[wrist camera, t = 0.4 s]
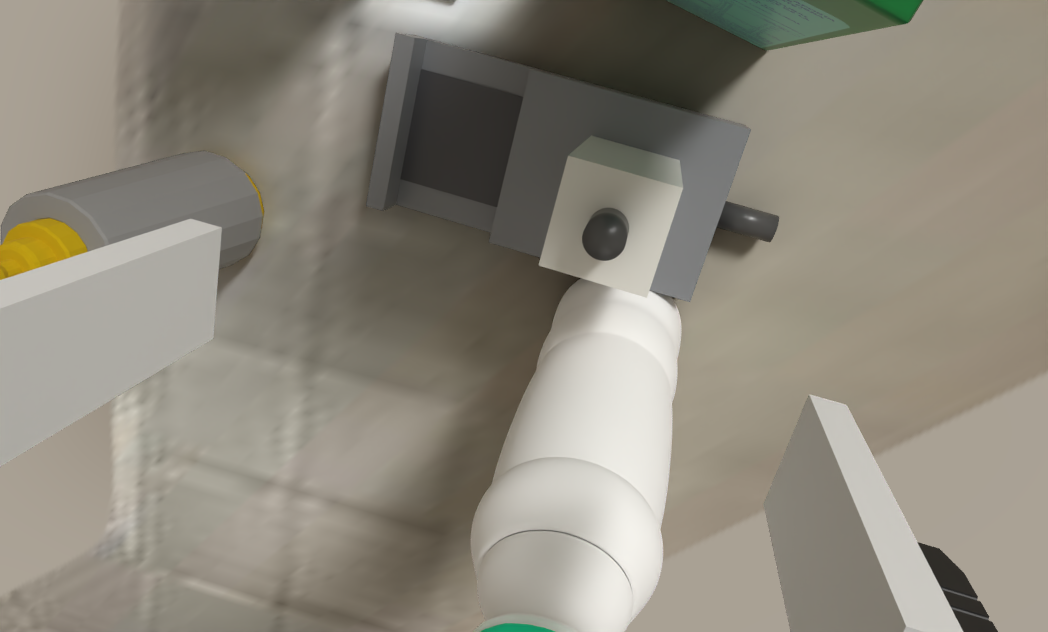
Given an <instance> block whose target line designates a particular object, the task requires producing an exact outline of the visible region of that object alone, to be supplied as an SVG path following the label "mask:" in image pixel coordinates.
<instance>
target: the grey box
mask: <svg viewBox="0 0 1048 632" xmlns="http://www.w3.org/2000/svg"><path fill="white" fill-rule="evenodd" d="M750 131H751V129H750V128H748V127H747V126H745V125H743V124H739V123H735V122H732V121H728V120H724V119H721V118H717V117H713V116H710V115H706V114H702V113H699V112H695V111H691V110H688V109H684V108H680V107H677V106H673V105H669V104H666V103H662V102H658V101H655V100H651V99H647V98H644V97H640V96H636V95H633V94H629V93H625V92H622V91H618V90H614V89H611V88H607V87H603V86H600V85H596V84H592V83H589V82H585V81H581V80H578V79H574V78H570V77H567V76H563V75H559V74H556V73H552V72H548V71H545V70H541V69H537V68H534V67H530V66H526V65H523V64H519V63H515V62H512V61H508V60H504V59H501V58H497V57H493V56H490V55H486V54H482V53H479V52H475V51H471V50H468V49H464V48H460V47H457V46H453V45H449V44H446V43H442V42H438V41H435V40H431V39H427V38H424V37H420V36H416V35H410V34H402V33H396V35H395V41H394V47H393V52H392V58H391V64H390V70H389V75H388V81H387V87H386V93H385V98H384V104H383V110H382V116H381V122H380V127H379V133H378V139H377V145H376V150H375V156H374V162H373V168H372V173H371V179H370V185H369V191H368V197H367V202H366V206H368V207H371V208H375V209H378V210H381V211H384V210H386V209H388V208H390V207H392V206H394V205H399V206H402V207H406V208H409V209H412V210H416V211H419V212H423V213H426V214H429V215H433V216H436V217H439V218H443V219H446V220H450V221H453V222H456V223H460V224H463V225H467V226H470V227H473V228H477V229H480V230H483V231H487V232H490V233H491V235H490V239H489V243H492V244H496V245H499V246H503V247H506V248H509V249H513V250H516V251H519V252H523V253H526V254H529V255H533V256H536V257H540V262H539V265H538V266H542V267H545V268H549V269H552V270H555V271H559V272H562V273H565V274H569V275H572V276H575V277H579V278H582V279H585V280H589V281H592V282H595V283H599V284H602V285H606V286H609V287H612V288H616V289H619V290H622V291H626V292H629V293H632V294H636V295H639V296H642V297H646V298H647V296H648V293H649V290H651V291H654V292H657V293H661V294H664V295H668V296H671V297H674V298H678V299H681V300H684V301H688V302H690V300H691V298H692V295H693V292H694V289H695V286H696V284H697V281H698V278H699V275H700V272H701V269H702V267H703V264H704V261H705V258H706V255H707V253H708V250H709V247H710V244H711V241H712V238H713V236H714V233H715V230H716V227H718V228H721V229H725V230H728V231H732V232H735V233H739V234H742V235H746V236H749V237H753V238H756V239H760V240H763V241H767V242H771V240H772V239H773V237H774V235H775V232H776V229H777V226H778V222H779V216H776V215H773V214H769V213H766V212H762V211H759V210H755V209H752V208H748V207H745V206H741V205H738V204H734V203H731V202H727V201H726V199H727V196H728V193H729V190H730V188H731V185H732V182H733V179H734V176H735V174H736V171H737V168H738V165H739V162H740V159H741V157H742V154H743V151H744V148H745V145H746V142H747V140H748V137H749V134H750Z"/></svg>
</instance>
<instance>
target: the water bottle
mask: <svg viewBox="0 0 1048 632" xmlns="http://www.w3.org/2000/svg"><path fill="white" fill-rule="evenodd" d="M680 342H681V319H680V315H679V311H678V309H677V306H676V304H675V302H674V300H673V299H672V297H671V296H668V295H664V294H661V293H657V292H654V291H651V290H649V293H648V296H647V298H646V297H642V296H639V295H636V294H632V293H629V292H626V291H622V290H619V289H616V288H612V287H609V286H606V285H602V284H599V283H595V282H592V281H589V280H585V279H582V278H581V279H579V280H578V281H576V282H575V283H574V284H573V285H572V286H571V287H570V288H569V289H568V290H567V291H566V293H565V294H564V296H563V297H562V299H561V301H560V303H559V305H558V308H557V310H556V313H555V316H554V319H553V323H552V327H551V331H550V332H549V334H548V336H547V338H546V339H545V342H544V344H543V346H542V349H541V352H540V355H539V358H538V362H537V369H536V372H535V373H534V375H533V377H532V379H531V381H530V383H529V385H528V387H527V389H526V391H525V393H524V395H523V397H522V400H521V402H520V404H519V406H518V409H517V411H516V414H515V416H514V418H513V421H512V424H511V426H510V429H509V431H508V434H507V436H506V439H505V442H504V445H503V448H502V450H501V453H500V457H499V460H498V463H497V466H496V470H495V473H494V477H493V481H492V485H491V486H490V487H489V488H488V489H487V491H486V492H485V494H484V495H483V497H482V499H481V501H480V503H479V505H478V507H477V510H476V512H475V515H474V519H473V523H472V529H471V553H472V559H473V564H474V569H475V574H476V578H477V592H478V600H479V604H480V607H481V610H482V613H483V616H484V619H485V621H484V622H483V623H481V624H480V625H479V626H478V627H477V628H476V629H475V630H474V631H473V632H625V631H626V629H627V626H628V625H629V624H630V623H631V621H632V620H633V619H634V618H635V617H636V616H637V614H638V613H639V612H640V611H641V610H642V609H643V607H644V606H645V605H646V603H647V602H648V600H649V599H650V597H651V596H652V594H653V592H654V590H655V588H656V586H657V583H658V580H659V577H660V573H661V569H662V562H663V542H662V535H661V531H660V529H661V524H662V520H663V514H664V509H665V503H666V497H667V489H668V480H669V471H670V460H671V446H672V402H673V399H674V395H675V391H676V385H677V371H678V370H677V358H678V354H679V349H680Z"/></svg>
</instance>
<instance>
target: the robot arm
mask: <svg viewBox="0 0 1048 632" xmlns="http://www.w3.org/2000/svg"><path fill="white" fill-rule="evenodd" d="M221 233H222V227H218V226H215V225H211V224H208V223H204V222H201V221H197V220H194V219H188V220H185V221H182V222H178V223H175V224H172V225H169V226H166V227H163V228H160V229H157V230H154V231H151V232H148V233H144V234H141V235H138V236H135V237H132V238H129V239H126V240H123V241H120V242H117V243H114V244H110V245H107V246H104V247H101V248H98V249H95V250H92V251H89V252H86V253H83V254H80V255H76V256H73V257H70V258H67V259H64V260H61V261H58V262H55V263H52V264H49V265H46V266H43V267H39V268H36V269H33V270H30V271H27V272H24V273H21V274H18V275H15V276H12V277H9V278H5V279H2V280H0V467H1V466H2V465H4V464H6V463H8V462H9V461H11V460H13V459H14V458H16V457H17V456H19V455H21V454H22V453H24V452H26V451H27V450H29V449H31V448H32V447H34V446H36V445H37V444H39V443H41V442H42V441H44V440H46V439H47V438H49V437H51V436H52V435H54V434H56V433H57V432H59V431H61V430H62V429H64V428H65V427H67V426H69V425H71V424H72V423H74V422H76V421H77V420H79V419H80V418H82V417H84V416H86V415H87V414H89V413H91V412H92V411H94V410H96V409H97V408H99V407H101V406H102V405H104V404H106V403H107V402H109V401H110V400H112V399H114V398H115V397H117V396H119V395H120V394H122V393H124V392H125V391H127V390H129V389H130V388H132V387H134V386H135V385H137V384H139V383H140V382H142V381H144V380H145V379H147V378H149V377H150V376H152V375H154V374H155V373H157V372H159V371H160V370H162V369H164V368H165V367H167V366H169V365H170V364H172V363H174V362H175V361H177V360H179V359H180V358H182V357H184V356H185V355H187V354H189V353H190V352H192V351H194V350H195V349H197V348H199V347H200V346H202V345H203V344H205V343H207V342H208V341H210V340H212V339H213V337H214V324H215V311H216V298H217V285H218V272H219V259H220V246H221ZM764 508H765V513H766V518H767V522H768V527H769V532H770V537H771V541H772V546H773V551H774V556H775V560H776V565H777V570H778V574H779V579H780V584H781V589H782V594H783V598H784V603H785V608H786V613H787V616H788V622H789V626H790V632H998V631H997V629H996V628H995V626H994V624H993V623H992V622H991V621H989V620H988V619H989V616H988V614H987V612H986V610H985V609H984V607H983V605H982V603H981V602H980V601H977V597H978V596H977V595H976V593H975V591H974V590H973V588H972V586H971V585H970V583H969V581H968V579H967V577H966V576H965V574H964V573H963V572H962V571H961V570H960V569H959V568H958V567H957V566H956V565H955V564H954V563H953V562H952V561H951V560H950V559H949V558H948V557H947V556H946V555H945V554H944V553H943V552H942V551H941V550H940V549H938V548H935V547H931V546H928V545H925V544H922V543H918V542H917V541H916V539H915V537H914V535H913V533H912V531H911V529H910V527H909V525H908V523H907V521H906V519H905V517H904V515H903V514H902V512H901V510H900V508H899V506H898V504H897V502H896V500H895V498H894V496H893V494H892V492H891V490H890V488H889V486H888V485H887V482H886V481H885V479H884V477H883V475H882V473H881V471H880V469H879V467H878V465H877V463H876V461H875V459H874V457H873V455H872V453H871V451H870V449H869V447H868V446H867V444H866V442H865V440H864V438H863V436H862V434H861V432H860V430H859V428H858V426H857V424H856V422H855V420H854V418H853V416H852V414H851V412H850V411H849V409H848V407H847V405H845V404H842V403H838V402H835V401H831V400H828V399H824V398H821V397H817V396H814V395H810V394H809V396H808V398H807V401H806V403H805V405H804V408H803V410H802V413H801V415H800V418H799V420H798V422H797V425H796V427H795V430H794V432H793V434H792V437H791V439H790V442H789V444H788V446H787V449H786V451H785V454H784V456H783V458H782V461H781V463H780V466H779V468H778V470H777V473H776V475H775V478H774V480H773V482H772V485H771V487H770V490H769V492H768V494H767V497H766V499H765V502H764Z"/></svg>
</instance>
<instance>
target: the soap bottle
mask: <svg viewBox="0 0 1048 632" xmlns="http://www.w3.org/2000/svg"><path fill="white" fill-rule="evenodd" d="M263 215H264V209H263V204H262V200H261V196H260V192H259V191H258V189H257V187H256V186H255V184H254V183H253V181H252V179H251V178H250V176H248V175H247V174H246V173H245V172H243V171H242V170H241V169H240V168H238V167H237V166H236V165H235V164H233V163H232V162H231V161H230V160H229V159H227V158H226V157H223V156H220V155H217V154H213V153H210V152H207V151H198V152H189V153H183V154H179V155H175V156H171V157H167V158H164V159H160V160H156V161H152V162H148V163H144V164H141V165H137V166H133V167H129V168H125V169H122V170H118V171H114V172H110V173H106V174H103V175H99V176H95V177H91V178H87V179H83V180H79V181H76V182H72V183H68V184H64V185H60V186H57V187H53V188H49V189H45V190H41V191H38V192H34V193H30V194H26V195H25V196H23V197H22V198H21V199H19V200H18V201H16V202H15V203H14V204H12V205H11V206H10V207H9V209H8V211H7V214H6V216H5V218H4V220H3V222H2V225H1V245H0V280H2V279H5V278H9V277H12V276H15V275H18V274H21V273H24V272H27V271H30V270H33V269H36V268H39V267H43V266H46V265H49V264H52V263H55V262H58V261H61V260H64V259H67V258H70V257H73V256H76V255H80V254H83V253H86V252H89V251H92V250H95V249H98V248H101V247H104V246H107V245H110V244H114V243H117V242H120V241H123V240H126V239H129V238H132V237H135V236H138V235H141V234H144V233H148V232H151V231H154V230H157V229H160V228H163V227H166V226H169V225H172V224H175V223H178V222H182V221H185V220H188V219H194V220H197V221H201V222H204V223H208V224H211V225H215V226H218V227H222V233H221V246H220V259H219V269H221V268H224V267H227V266H230V265H232V264H234V263H236V262H238V261H239V260H241V259H243V258H244V257H246V256H248V255H249V254H250V252H251V251H252V249H253V248H254V246H255V245H256V243H257V241H258V240H259V238H260V233H261V228H262V222H263Z"/></svg>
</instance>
